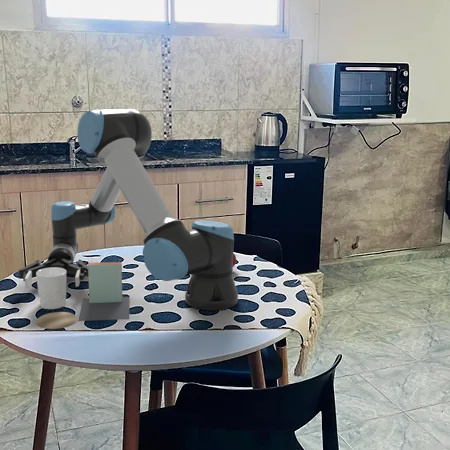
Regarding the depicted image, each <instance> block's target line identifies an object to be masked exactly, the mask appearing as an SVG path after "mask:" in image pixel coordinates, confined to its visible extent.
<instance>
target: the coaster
mask: <svg viewBox="0 0 450 450" xmlns="http://www.w3.org/2000/svg"><path fill="white" fill-rule="evenodd" d="M77 321H78V317H77V316H76V315H75V314H74V313H72V312H68V311H67V312H66V311H56V312H49V313H45V314H43V315H41V316H39V317H38V318H37V319H36V325H37V326H38V327H40V328H43V329H48V330H49V329H50V330H57V329H64V328H68V327H70V326H73V325H74V324H75V323H77Z"/></svg>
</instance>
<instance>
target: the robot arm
mask: <svg viewBox="0 0 450 450" xmlns="http://www.w3.org/2000/svg"><path fill="white" fill-rule="evenodd" d="M77 124H78V125H77V141H78V144H79V147H80V149H81V151H83V153H87V154H94V156H95V157H96V159H97V161H98V163H99V164H101V165H105V166H107V167H106V169H105V171H104V173H103V174H102V177H101V179H100V181H99V183H98V185H97V187H96V189H95V192H94V193H93V195H92V197H91V199H90V201H89V203H88V204H83V205H77V206H76V204H75V203H74V201H65V200H64V201H57V202H54V203H53V204H52V205H51V209H50V211H51V213H50V214H51V215H50V218H51V228H52V249H51V251H50V253H49V255H48V257H47V259H46V261H45V262H41V260H39V259H36V260H35V261H34V262H32V263H31V264H29V265H26V266H24V267H22V268H20V269H19V270H18V275H19V279H20V280H21V279H22V280H23V282H24V286H25V287H24V288H25V289H26V288H27V289H28V288H29V287H30V285H31V283H32V280H33V278H37V276H36V272H37V271H39V270H41V269H44V268H51V267H58V268H63V269H65V270H66V275H67V274H68V275H69V274H71V275H74V277H75V278H74V279H75V287H79V286H80V283H81V281H84V279H85V278H86V277H87V278H88V264H86V263H85V262H83V260H82V259H78V260H77V261H76V262H75V258H76V255H77V254H78V251H79V250H78V249H79V243H78V241H77V240H78V239H77V230H81V229H85V228H90V227H96V226H101V225H102V226H103V225H106V224H108V223H112V222H113V221H114V219H115V217H116V208H115V205H116V202H117V201H118V199H119V197H120V195H121V193H122V194H123V197H124V198H125V200H126V201H127V203H128V206H129V207H130V209H131V211H132V213H133V214H134V216H135V218H136V220H137V222H138V223H139V225H140V227H141V228H142V231H143V232H144V234H145V235H144V238H143V244H144V246H143V249H142V256H143V258H142V259H143V263H144V265H145V267H146V269H147V270H148V272H149V273H150V274H151V275H152V276H153V277H154V278H156V279H158V280H159V281H163V282H171V281H174V280H175V281H179V280H181V279H183V278H184V277H188V276H190V279H189V281H188V283H187V284H188V285H187V286H186V290H185V295H184V296H185V297H184V301H185V303H186V305H188V306H189V307H191V308H194V309H198V310H204V311H222V310H227V309H230V308H233V307H234V306H237V304H238V302H239V301H238V300H239V293H238V289H237V286H236V283H235V280H234V275H233V273H234V272H233V270H234V269H233V268H234V267H233V253H234V248H235V247H234V246H235V245H234V244H235V237H234V228H233V227H232V226H231V225H230V224H228V223H225V222H220V221H215V220H204V219H203V220H202V219H201V220H200V219H199V220H193V221H192V225H191V229H189V230H187V228H186V227H185V225H184V223H183V221H182V220H181V219H178V218H174V217H173V216H172V213H171V212H170V210H169V208H168V207H167V205H166V203H165V201H164V200H163V198H162V196H161V194H160V192H159V191H158V190H157V188H156V186H155V183H154V182H153V181H152V179H151V177H150V176H149V174H148V171H147V170H146V169H145V167H144V165H143V163H142V161H141V160H140V159H142V158H144V157H145V156H146V153H147V152H148V150H149V149H150V146H151V143H152V137H153V136H152V135H153V133H152V132H153V131H152V126H151V123H150V122H149V119H148V118H147V117H146V116H145V115H144V114H143V113H142V112H141V111H139V110H136V109H133V108H117V109H115V108H114V109H111V108H110V109H99V108H98V109H95V110H93V109H91V110H88V111H85V112H84V113H83V114H82V115H81V116H80V118H79V121H78V123H77Z"/></svg>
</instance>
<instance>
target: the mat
mask: <svg viewBox="0 0 450 450" xmlns="http://www.w3.org/2000/svg"><path fill="white" fill-rule="evenodd" d="M130 299H131V298H130V296H122V302H107V303H89V297H87V298H85V297H83V298H82V302H81V306H80V310H79V314H78V318H77V321H78V322H89V321H115V320H130V306H131V305H130V303H131V302H130V301H131V300H130Z"/></svg>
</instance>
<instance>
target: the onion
mask: <svg viewBox="0 0 450 450" xmlns="http://www.w3.org/2000/svg"><path fill="white" fill-rule="evenodd" d="M236 263H237V255H235V253H234V252H233V268H234V267H235V266H236Z"/></svg>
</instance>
